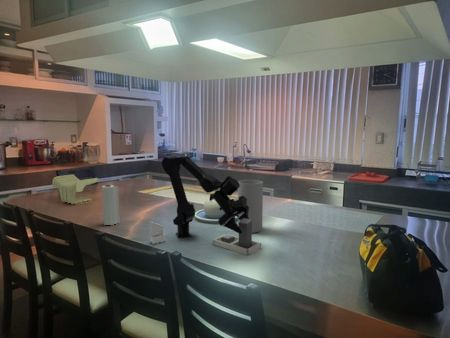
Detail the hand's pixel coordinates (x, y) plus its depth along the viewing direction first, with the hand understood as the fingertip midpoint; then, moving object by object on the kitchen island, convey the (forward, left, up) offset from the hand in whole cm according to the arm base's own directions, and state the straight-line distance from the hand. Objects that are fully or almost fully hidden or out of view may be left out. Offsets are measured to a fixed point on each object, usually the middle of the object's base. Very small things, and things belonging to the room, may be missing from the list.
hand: (246, 230), depth 134 cm
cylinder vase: (-23, +13, -9) cm, 28 cm away
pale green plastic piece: (-122, -76, -9) cm, 144 cm away
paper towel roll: (-58, -54, -9) cm, 80 cm away
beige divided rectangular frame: (-5, -3, -8) cm, 10 cm away
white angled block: (-23, -34, -9) cm, 42 cm away
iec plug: (0, 0, -8) cm, 8 cm away
